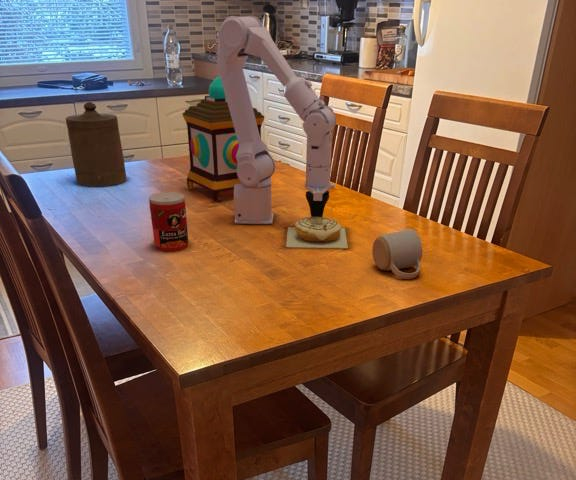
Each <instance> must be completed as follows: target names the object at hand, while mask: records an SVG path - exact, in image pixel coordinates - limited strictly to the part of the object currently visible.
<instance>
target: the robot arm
mask: <svg viewBox="0 0 576 480" xmlns="http://www.w3.org/2000/svg"><path fill="white" fill-rule="evenodd" d="M269 31H270V30H268V28H266V27H265V26H264V25H263V23H262V21H261V20H260V19H259V17H256V16H255V15H246V16H235V15H230V16H227V17H226V18H225V19H224V20H223V21H222V23H221V25H220V26H219V29H218V30H217V32H216V36H217V40H218V49H217V57H216V66H217V70H218V73H219V77H220V78H221V81H222V85H223V89H224V92H225V96H226V100H227V103H228V107H229V111H230V114H231V118H232V121H233V125H234V129H235V132H236V136H237V140H238V143H239V148H238V151H237V154H236V159H237V176H238V178H239V180H240V181H241V182H242V183H241V184H235V185H234V190H233V214H234V224H237V225H238V224H239V225H241V224H242V225H244V224H247V225H273V221H274V216H275V213H274V212H272V176H273V175H274V174H275V171H276V161H275V159H274V158H273V156H272V155H271V153H270V151H269V148H268V145H267V144H266V143H265V142H264V141H263V140H262V137H261V138H260V135H259V131H258V127H257V123H256V119H255V115H254V111H253V108H254V107H253V103H252V100H251V96H250V92H249V88H248V84H247V81H246V76H245V72H244V66H245V64H246V62H247V60H248V58H249V56H250V55H251V56H254V57H258V58H260V59H261V60H262V62H263V63H264V65H266V67H267V68H268V69H269V70H270V72H271V73H272V74H273V75H274V76H275V78H277V80H278V81H279V82H280V84H281V85H282V86H283V88H284V89H283V97H284V98H285V100H287V102H288V104H289V105H290V106H291V108H292V109H293V110H294V111H295V112H296V114H297V116H298V117H299V118H300V120H302V129H303V131H304V133H305V135H306V153H305V154H306V157H305V159H306V160H305V161H306V163H305V183H304V188H305V189H306V191H305V199H306V201H307V204H308V206H309V213H310V217H324V216H323V215H324V211H325V207H326V205H327V202H328V201H329V199H330V191H329V190H330V189H335V187H336V184H335V183H332V182H331V168H332V145H333V144H332V143H333V142H332V141H333V139H332V138H333V132H332V131H333V130H334V129H335V127H336V126H337V125H336V124H337V117H336V114H335V111H334V109H333V108H332V107H330V106H329V105H326V103H325V101H324V100H323V99H322V100H321V99H320V98H319V96H318V95H317V93H316V92H315V91H314V89H313V88H312V86H313V83H312V82H311V80H310V79H308V80H307V79H306V78H305V77H303V76H297V75H296V74H295V72H294V70H293V69H292V68H291V66H290V65H289V63H288V61H287V60H286V58H285V57H284V55H283V54H282V52H281V50H280V49H279V47H278V46H277V44H276V42H274V40H273V38H272V35H271V34H270V32H269Z"/></svg>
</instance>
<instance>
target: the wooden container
mask: <svg viewBox="0 0 576 480" xmlns="http://www.w3.org/2000/svg"><path fill="white" fill-rule="evenodd" d="M83 109H84V112H83V113H81V114H74V115H69V116H66V117H65V124H66V128H67V135H68V141H69V146H70V153H71V158H72V159H71V160H72V164H73V169H74V174H75V179H76V182H77V184H79V186H80V185H81V186H84V187H95V188H96V187H110V186H116V185H119V184H122V183H124V182H125V181H127V172H126V164H125V158H124V152H123V146H122V141H121V134H120V129H119V121H118V117H117V115H115V114H110V113H99V112H98V111H97V110H96V109H97V105H96V104H95V103H93V102H92V101H87V102H85V103H84V104H83Z"/></svg>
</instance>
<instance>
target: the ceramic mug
mask: <svg viewBox="0 0 576 480" xmlns="http://www.w3.org/2000/svg"><path fill="white" fill-rule="evenodd" d="M371 251H372V258H373V262H374V265H375V266H376V267H377V268H378V269H379V270H381V271H391V272H392V273H393V274H394V275H395V276H396V277H398V278H400V279H404V280H411V279H415V278H416V277H417V276H418V275H419V273H420V270H421V261H422V257H423V244H422V240H421V237H420V236H419V233H417V231H416V230H415V229H413V228H406V229H403V230H399V231H394V232H390V233H385V234H382V235H380V236H378V237H376V238H375V239H374V242H373V243H372V250H371ZM414 267H415V268H416V271H415V272H411V273H410V272H409V273H408V272H403V271H401V269H408V268H414Z"/></svg>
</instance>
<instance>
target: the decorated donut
mask: <svg viewBox="0 0 576 480" xmlns="http://www.w3.org/2000/svg"><path fill="white" fill-rule="evenodd" d="M294 225H295V226H294V227H295V231H296V233H297V235H298V236H299V237H300V238H302V239H304V240H305V241H309V242H312V241H314V242H317V241H318V242H328V241H333V240H336V239H338V238H339V236H340V233H341V232H340V230H341V228H342V226H341V224H340V223H339V222H337V221H336V220H335V219H332V218H328V217H324V216H322V217H311V216H306V217H303V218H301V219H298V220H297V221H295V224H294Z"/></svg>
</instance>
